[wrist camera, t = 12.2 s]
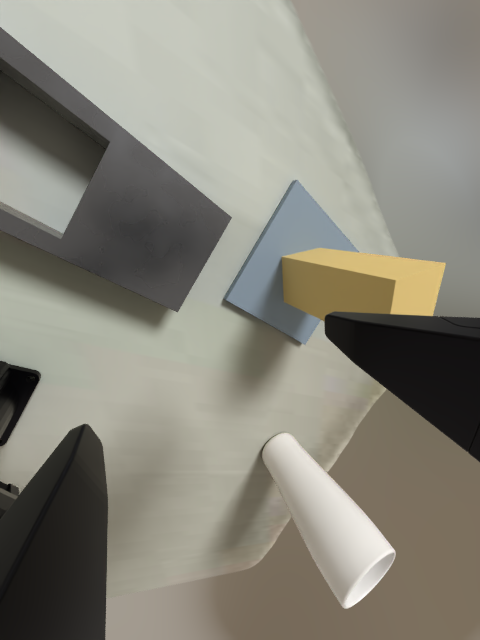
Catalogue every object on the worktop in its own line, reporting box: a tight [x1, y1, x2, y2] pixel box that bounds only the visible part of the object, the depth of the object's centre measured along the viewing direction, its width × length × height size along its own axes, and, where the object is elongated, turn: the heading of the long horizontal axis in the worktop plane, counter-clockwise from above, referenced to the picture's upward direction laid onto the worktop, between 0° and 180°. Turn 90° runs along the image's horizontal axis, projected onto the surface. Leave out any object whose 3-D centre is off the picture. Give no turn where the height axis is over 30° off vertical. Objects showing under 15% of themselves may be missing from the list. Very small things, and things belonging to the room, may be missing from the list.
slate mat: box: [224, 180, 360, 344], centre depth 24 cm, size 12×12×1 cm
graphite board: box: [0, 27, 232, 312], centre depth 14 cm, size 8×18×2 cm, turn 55°
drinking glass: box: [262, 433, 396, 609], centre depth 27 cm, size 7×7×15 cm
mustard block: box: [282, 248, 445, 321], centre depth 19 cm, size 5×5×11 cm
